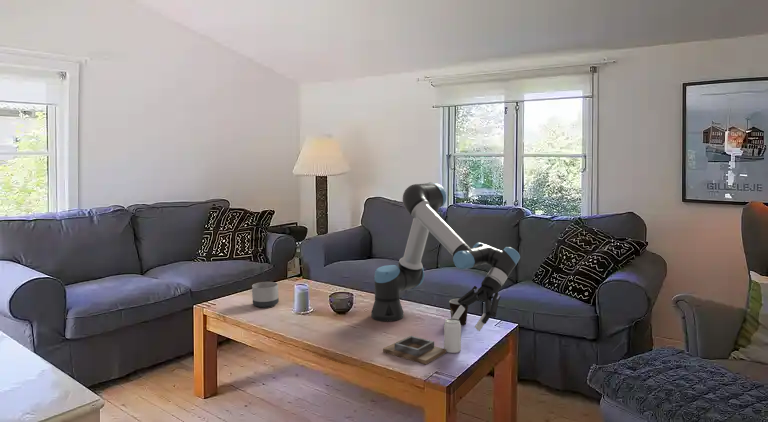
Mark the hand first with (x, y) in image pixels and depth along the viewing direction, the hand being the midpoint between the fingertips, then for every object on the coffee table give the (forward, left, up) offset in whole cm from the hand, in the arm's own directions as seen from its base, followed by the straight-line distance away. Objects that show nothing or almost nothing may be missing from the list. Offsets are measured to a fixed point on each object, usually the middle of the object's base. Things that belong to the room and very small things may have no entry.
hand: (465, 324), depth 216 cm
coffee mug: (-19, +27, -10) cm, 34 cm away
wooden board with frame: (-14, -15, -10) cm, 23 cm away
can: (-3, -4, -10) cm, 11 cm away
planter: (-111, -8, -10) cm, 111 cm away
